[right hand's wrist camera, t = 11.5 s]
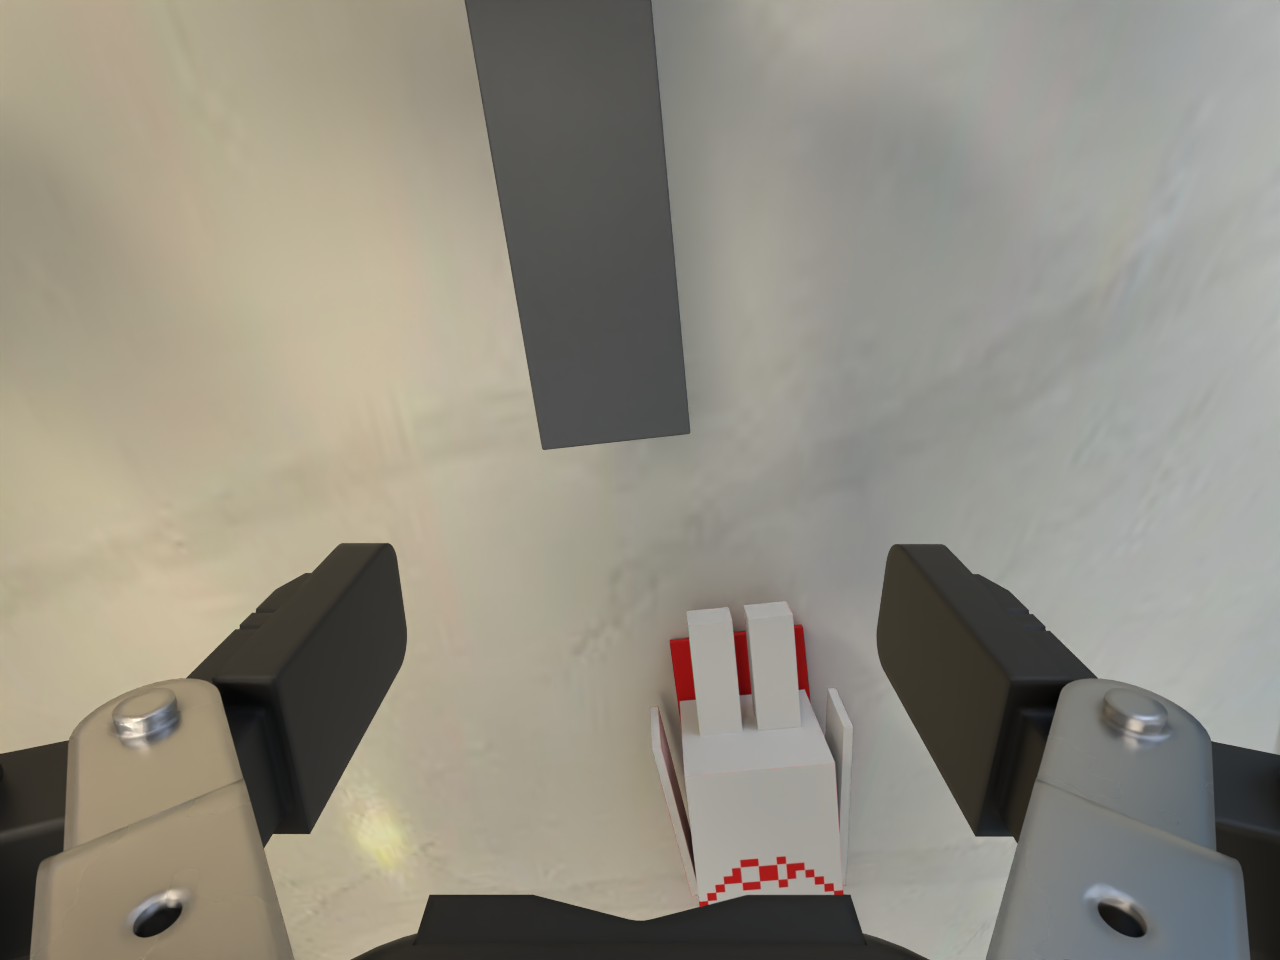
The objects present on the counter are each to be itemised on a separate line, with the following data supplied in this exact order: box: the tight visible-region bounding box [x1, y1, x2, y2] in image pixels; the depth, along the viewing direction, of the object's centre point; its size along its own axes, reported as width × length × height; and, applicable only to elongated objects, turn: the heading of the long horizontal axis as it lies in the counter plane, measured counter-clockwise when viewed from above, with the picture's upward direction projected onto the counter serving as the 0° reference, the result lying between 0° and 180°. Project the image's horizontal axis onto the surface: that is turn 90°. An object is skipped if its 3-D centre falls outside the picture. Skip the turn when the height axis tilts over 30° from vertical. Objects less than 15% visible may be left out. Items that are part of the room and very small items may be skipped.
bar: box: [465, 0, 690, 450], centre depth 22 cm, size 26×5×9 cm, turn 6°
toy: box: [650, 601, 853, 907], centre depth 46 cm, size 12×13×30 cm
